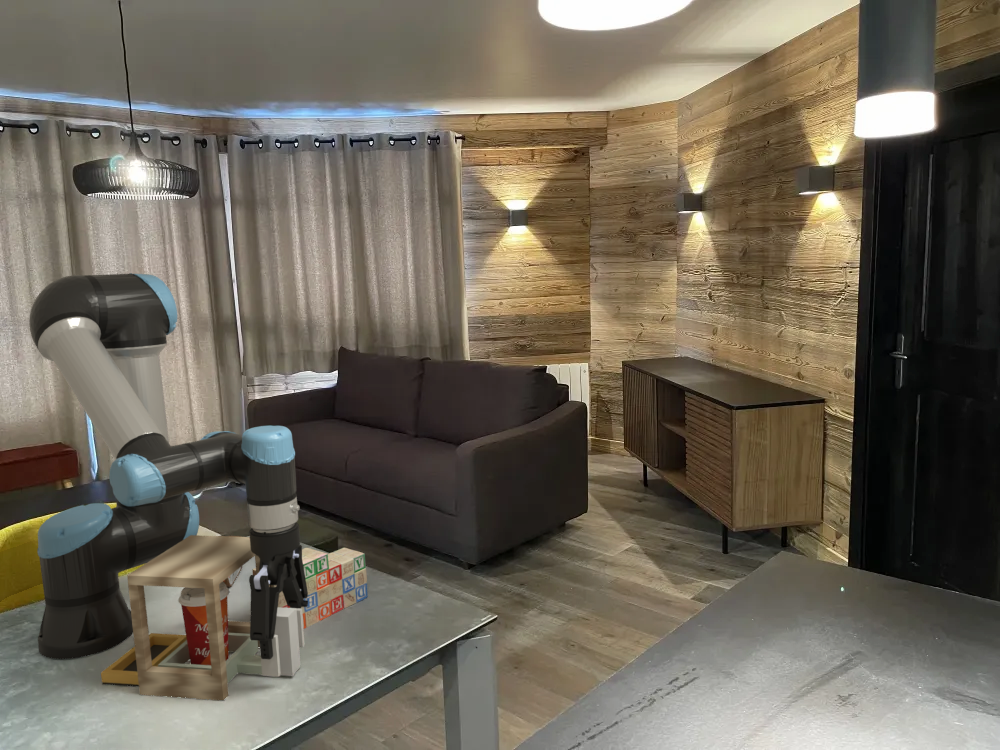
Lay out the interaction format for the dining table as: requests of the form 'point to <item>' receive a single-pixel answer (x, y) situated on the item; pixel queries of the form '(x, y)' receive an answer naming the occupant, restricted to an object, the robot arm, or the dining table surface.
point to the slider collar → (250, 650)
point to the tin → (232, 577)
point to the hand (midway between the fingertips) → (284, 659)
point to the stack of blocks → (330, 583)
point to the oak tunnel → (206, 568)
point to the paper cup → (201, 623)
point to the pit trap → (126, 666)
